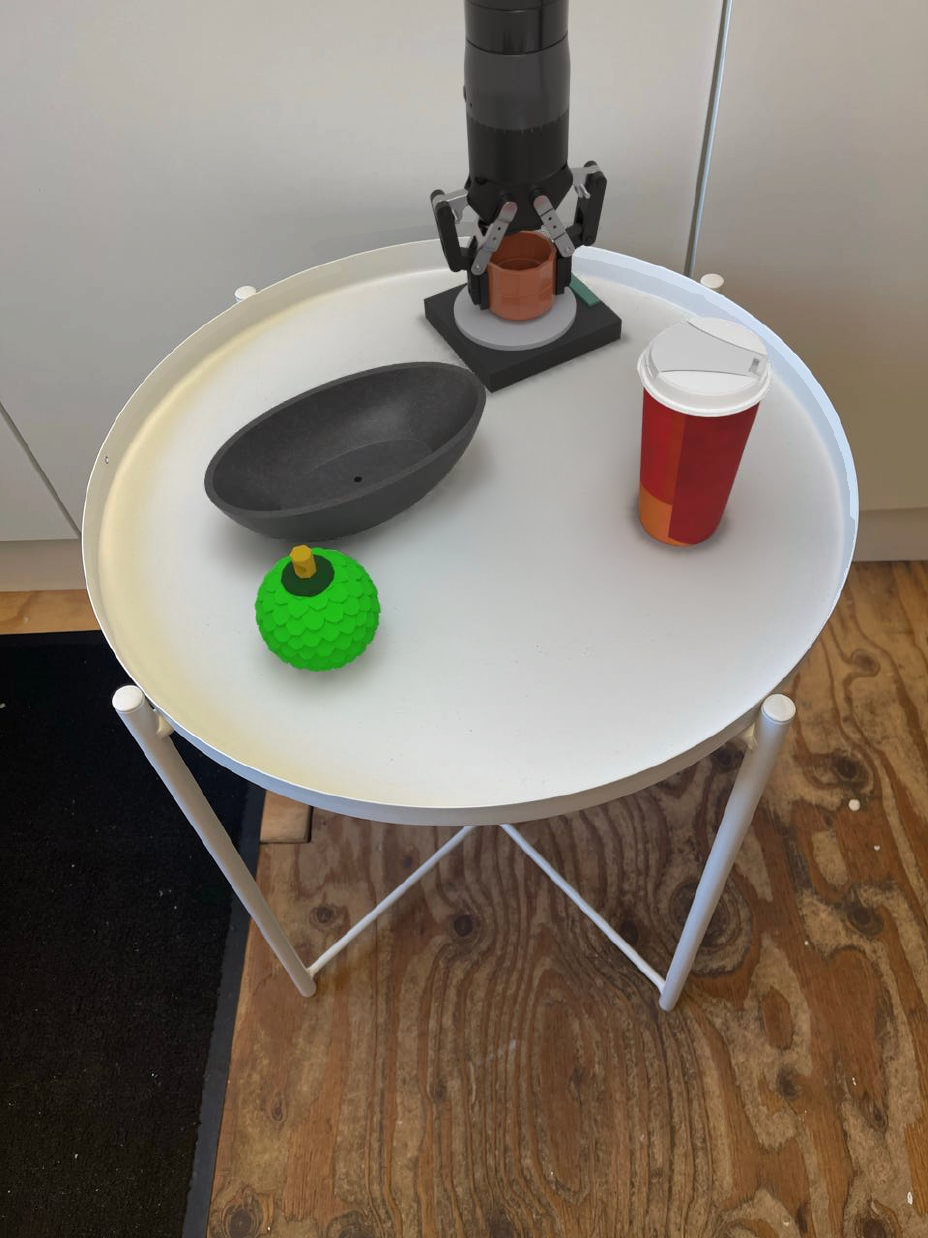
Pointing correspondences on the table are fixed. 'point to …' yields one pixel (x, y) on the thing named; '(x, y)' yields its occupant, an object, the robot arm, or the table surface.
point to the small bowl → (522, 276)
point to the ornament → (317, 609)
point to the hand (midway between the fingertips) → (520, 296)
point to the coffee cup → (696, 423)
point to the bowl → (347, 451)
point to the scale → (522, 333)
